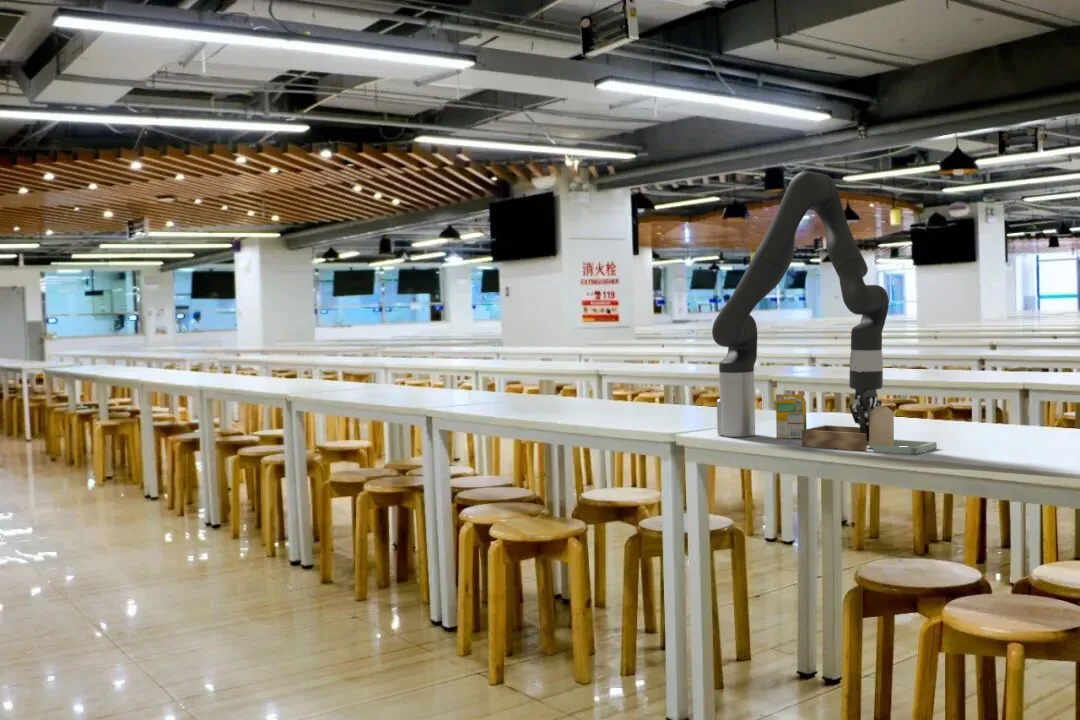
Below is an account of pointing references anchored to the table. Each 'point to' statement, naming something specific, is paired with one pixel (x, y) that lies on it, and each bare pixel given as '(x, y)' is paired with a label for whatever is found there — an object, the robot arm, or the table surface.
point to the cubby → (835, 437)
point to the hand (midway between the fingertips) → (865, 440)
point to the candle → (881, 427)
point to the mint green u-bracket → (912, 448)
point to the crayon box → (790, 416)
